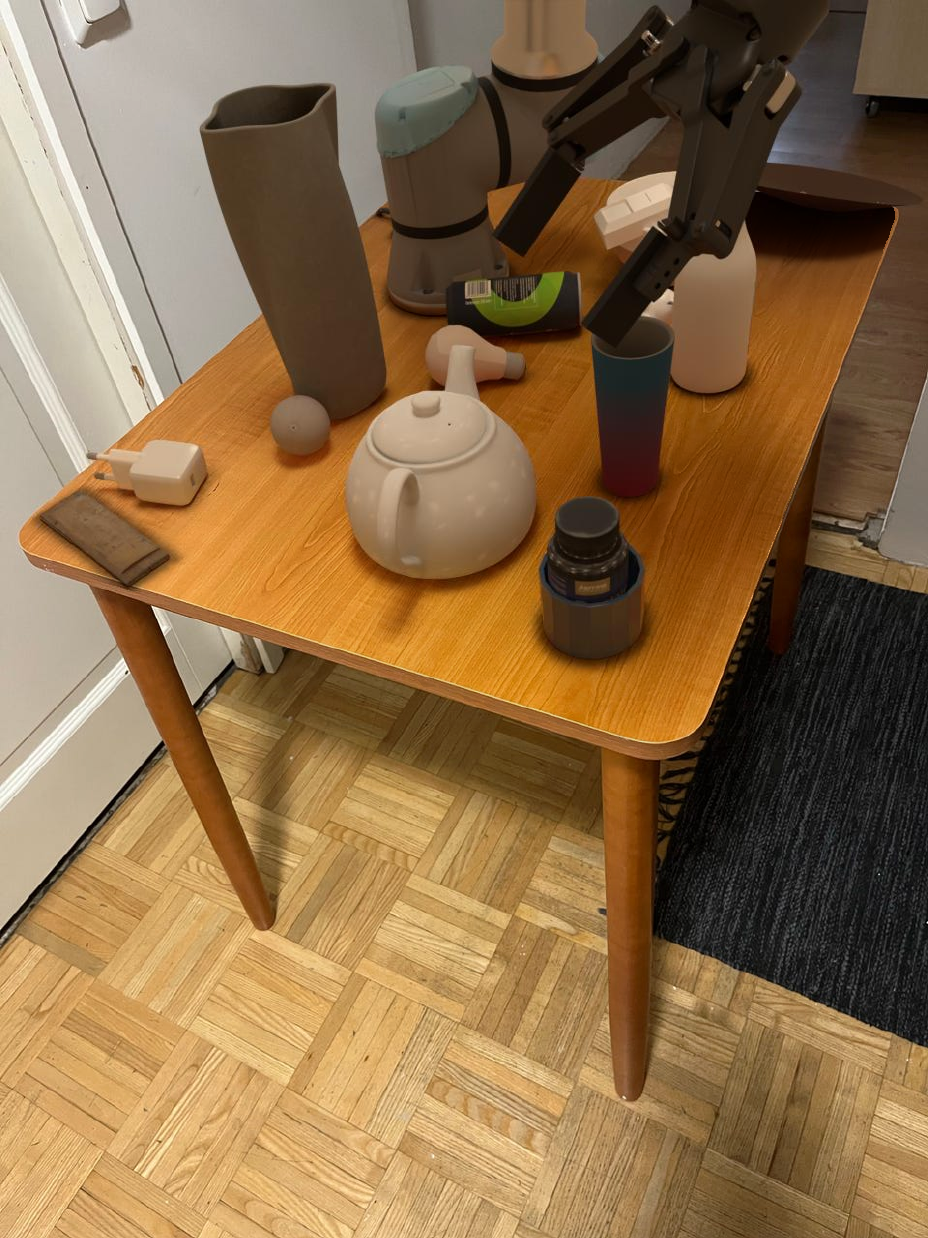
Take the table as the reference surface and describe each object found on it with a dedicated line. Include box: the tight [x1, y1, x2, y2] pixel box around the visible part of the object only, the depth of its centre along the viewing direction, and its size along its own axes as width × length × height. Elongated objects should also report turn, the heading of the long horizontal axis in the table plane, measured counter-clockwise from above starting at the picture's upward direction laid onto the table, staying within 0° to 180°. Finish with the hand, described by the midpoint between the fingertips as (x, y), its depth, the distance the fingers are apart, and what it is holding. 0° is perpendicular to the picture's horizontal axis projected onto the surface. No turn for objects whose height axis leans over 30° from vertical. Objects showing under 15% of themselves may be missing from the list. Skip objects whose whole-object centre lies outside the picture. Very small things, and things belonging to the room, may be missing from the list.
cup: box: [590, 316, 675, 498], centre depth 83 cm, size 7×7×15 cm
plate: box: [755, 161, 924, 213], centre depth 118 cm, size 28×28×4 cm
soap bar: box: [593, 183, 673, 250], centre depth 107 cm, size 5×9×3 cm, turn 98°
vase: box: [198, 82, 388, 422], centre depth 93 cm, size 12×12×30 cm
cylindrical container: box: [538, 542, 646, 660], centre depth 75 cm, size 8×8×6 cm
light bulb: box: [424, 325, 527, 387], centre depth 101 cm, size 7×7×11 cm
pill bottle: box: [546, 495, 629, 603], centre depth 73 cm, size 6×6×11 cm
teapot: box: [344, 345, 538, 580], centre depth 82 cm, size 19×18×14 cm
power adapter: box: [85, 439, 208, 506], centre depth 95 cm, size 11×5×6 cm
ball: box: [269, 394, 331, 457], centre depth 96 cm, size 6×6×6 cm
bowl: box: [605, 170, 677, 287], centre depth 113 cm, size 16×16×8 cm
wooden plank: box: [38, 489, 171, 587], centre depth 91 cm, size 17×1×5 cm
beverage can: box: [446, 270, 583, 338], centre depth 107 cm, size 6×6×15 cm
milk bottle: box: [670, 219, 757, 394], centre depth 92 cm, size 8×8×20 cm
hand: (548, 288), depth 61 cm, fingers open, 13 cm apart
